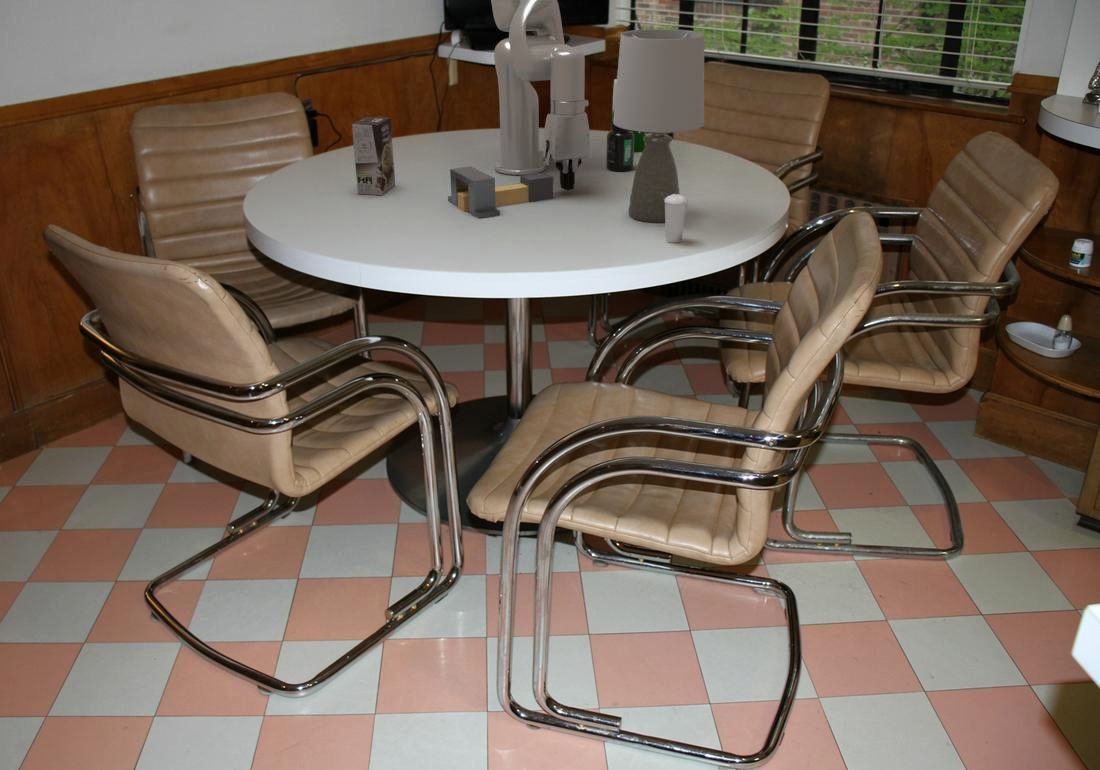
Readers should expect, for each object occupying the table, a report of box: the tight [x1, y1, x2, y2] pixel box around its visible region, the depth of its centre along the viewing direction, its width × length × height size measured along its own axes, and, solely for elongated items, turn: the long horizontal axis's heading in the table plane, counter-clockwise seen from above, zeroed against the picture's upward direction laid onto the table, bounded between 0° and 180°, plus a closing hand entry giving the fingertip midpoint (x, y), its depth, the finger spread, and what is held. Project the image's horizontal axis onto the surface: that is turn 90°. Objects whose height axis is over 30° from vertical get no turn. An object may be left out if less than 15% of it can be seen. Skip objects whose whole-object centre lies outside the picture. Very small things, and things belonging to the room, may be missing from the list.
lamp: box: [613, 28, 705, 223], centre depth 204 cm, size 19×19×37 cm
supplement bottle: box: [605, 119, 635, 173], centre depth 246 cm, size 7×7×12 cm
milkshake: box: [661, 192, 689, 244], centre depth 194 cm, size 5×5×10 cm
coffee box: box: [351, 116, 396, 196], centre depth 228 cm, size 9×6×16 cm
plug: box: [457, 172, 554, 213], centre depth 220 cm, size 22×4×5 cm, turn 120°
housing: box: [447, 166, 501, 219], centre depth 216 cm, size 5×16×8 cm, turn 30°
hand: (567, 188), depth 228 cm, fingers closed
